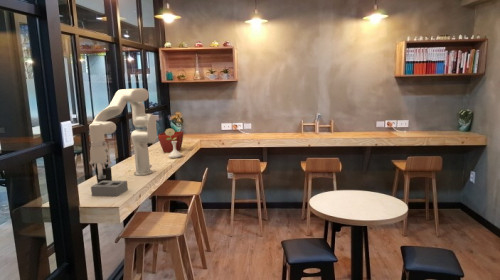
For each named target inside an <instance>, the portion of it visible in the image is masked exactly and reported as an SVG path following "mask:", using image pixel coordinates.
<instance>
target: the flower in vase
mask: <svg viewBox="0 0 500 280" xmlns="http://www.w3.org/2000/svg"><path fill="white" fill-rule="evenodd" d="M164 132H165V134H166V135H167V136H168V135H169V136H170V137H171V135H174V133H175V132H176V131H175V129H174V128H166V129H165V131H164ZM176 138H177V137H176ZM176 138H174V139H173V140H175V139H176ZM170 139H171V138H167V139H166V140H170ZM171 142H172V144H173V151H172V152H169V154H168V157H169V158H170V159H171V158H172V159H176V158H181V157H182V156H183V154H182V153H181V152H180V150H179V151H177V150H176V142H177V141H171Z"/></svg>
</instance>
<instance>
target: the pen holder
mask: <svg viewBox="0 0 500 280" xmlns="http://www.w3.org/2000/svg"><path fill="white" fill-rule="evenodd" d="M95 175H96V174H95ZM95 177H96V182H97V183H99V182H101V181H113V177H112V167H111V166H108V168H107V174H106V178H104V179H98V175H96V176H95ZM97 183H96V184H97Z"/></svg>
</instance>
